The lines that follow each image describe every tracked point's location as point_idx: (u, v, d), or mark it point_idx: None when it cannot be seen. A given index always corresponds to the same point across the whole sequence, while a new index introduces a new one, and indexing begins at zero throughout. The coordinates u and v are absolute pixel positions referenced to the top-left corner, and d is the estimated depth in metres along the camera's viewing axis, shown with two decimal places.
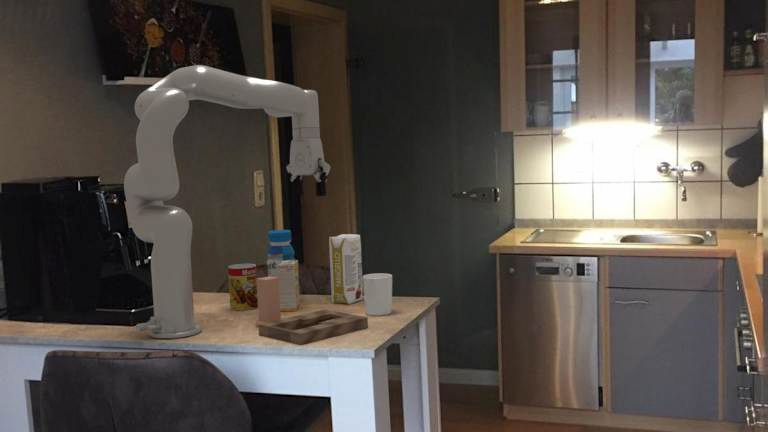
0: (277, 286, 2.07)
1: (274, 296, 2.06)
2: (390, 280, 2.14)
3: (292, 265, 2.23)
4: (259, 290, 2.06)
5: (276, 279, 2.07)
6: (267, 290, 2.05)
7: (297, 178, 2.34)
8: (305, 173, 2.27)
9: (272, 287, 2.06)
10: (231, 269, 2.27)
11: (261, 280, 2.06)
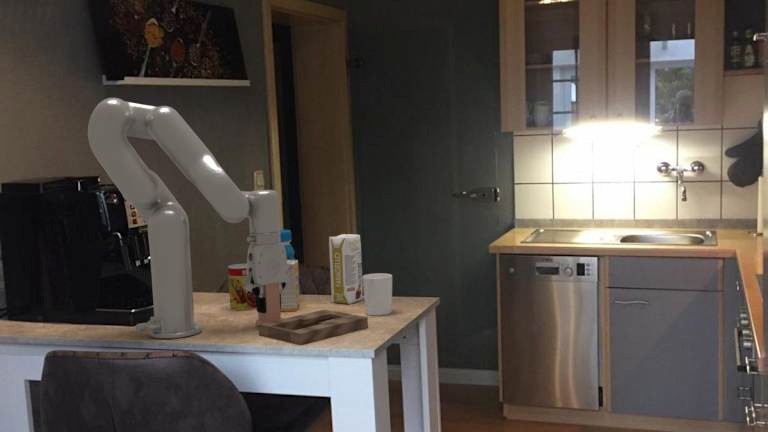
0: (277, 286, 2.07)
1: (274, 296, 2.06)
2: (390, 280, 2.14)
3: (292, 265, 2.23)
4: None
5: None
6: (267, 289, 2.05)
7: None
8: (280, 281, 2.07)
9: (272, 286, 2.06)
10: (231, 269, 2.27)
11: None
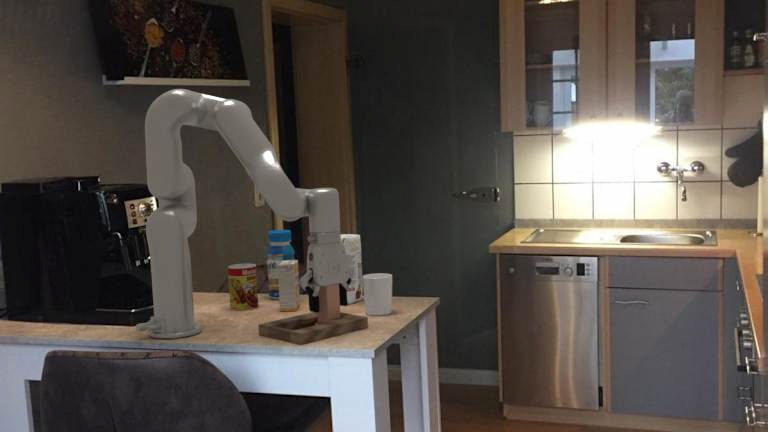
0: (337, 288, 2.01)
1: (334, 298, 2.01)
2: (390, 280, 2.14)
3: (292, 265, 2.23)
4: (319, 291, 2.01)
5: None
6: (328, 291, 1.99)
7: None
8: (340, 281, 2.01)
9: (332, 288, 2.00)
10: (231, 269, 2.27)
11: None
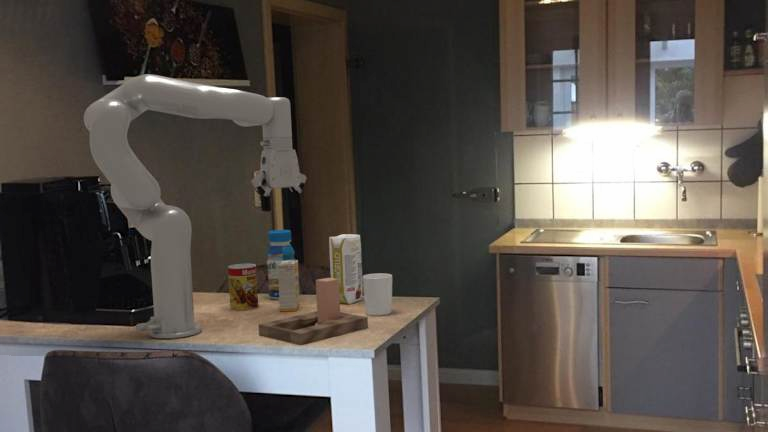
0: (337, 288, 2.01)
1: (334, 298, 2.01)
2: (390, 280, 2.14)
3: (292, 265, 2.23)
4: (319, 291, 2.01)
5: (336, 280, 2.01)
6: (328, 291, 1.99)
7: None
8: (292, 185, 2.16)
9: (332, 288, 2.00)
10: (231, 269, 2.27)
11: (321, 282, 2.00)
